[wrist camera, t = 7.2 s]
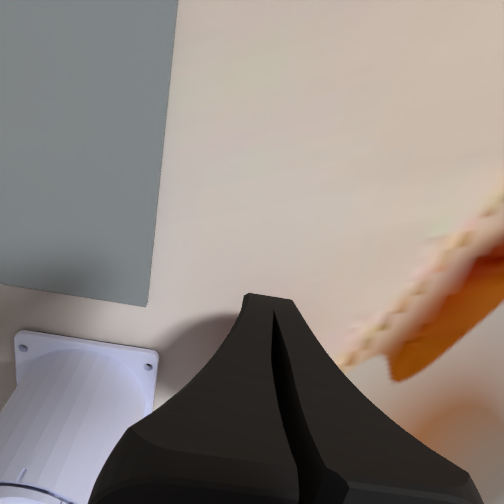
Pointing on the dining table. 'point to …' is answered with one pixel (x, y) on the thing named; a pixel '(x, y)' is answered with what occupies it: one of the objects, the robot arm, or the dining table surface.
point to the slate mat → (82, 143)
